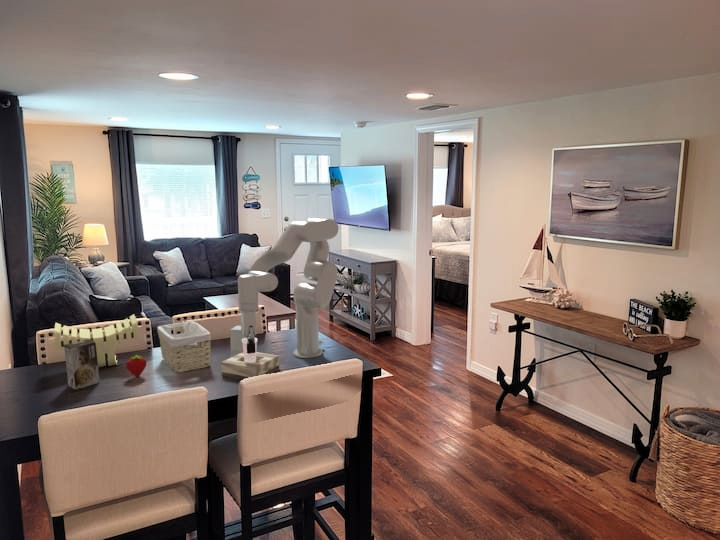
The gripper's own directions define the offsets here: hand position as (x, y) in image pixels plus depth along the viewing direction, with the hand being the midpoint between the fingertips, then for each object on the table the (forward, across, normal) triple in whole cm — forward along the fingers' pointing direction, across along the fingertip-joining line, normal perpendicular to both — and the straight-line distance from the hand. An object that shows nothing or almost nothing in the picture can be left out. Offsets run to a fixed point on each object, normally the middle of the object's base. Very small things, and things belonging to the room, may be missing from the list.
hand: (249, 350), depth 210 cm
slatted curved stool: (+10, -32, -58) cm, 67 cm away
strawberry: (+10, -10, -42) cm, 44 cm away
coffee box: (+10, -9, -61) cm, 62 cm away
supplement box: (+9, -22, 0) cm, 24 cm away
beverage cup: (+5, 0, 0) cm, 5 cm away
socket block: (+9, 0, 0) cm, 9 cm away
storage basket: (+9, -21, -24) cm, 33 cm away
